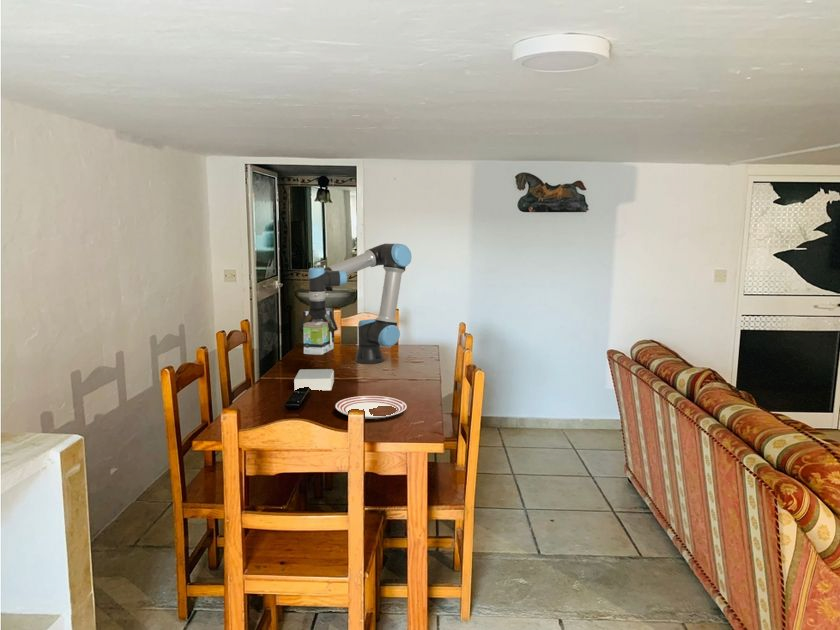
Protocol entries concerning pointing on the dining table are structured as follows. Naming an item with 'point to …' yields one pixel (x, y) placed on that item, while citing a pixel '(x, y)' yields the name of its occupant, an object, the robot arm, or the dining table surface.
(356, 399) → the dinner plate
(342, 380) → the dining table surface
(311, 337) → the tea box
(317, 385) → the plinth
